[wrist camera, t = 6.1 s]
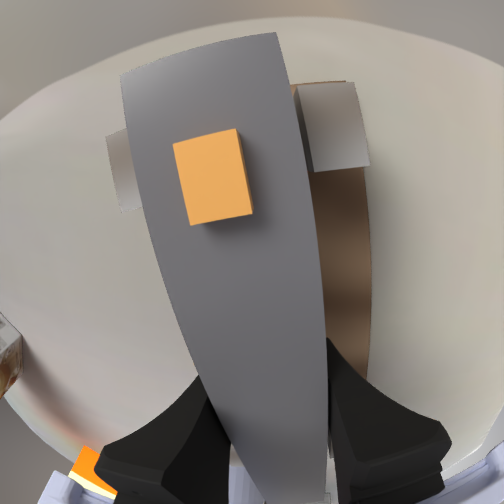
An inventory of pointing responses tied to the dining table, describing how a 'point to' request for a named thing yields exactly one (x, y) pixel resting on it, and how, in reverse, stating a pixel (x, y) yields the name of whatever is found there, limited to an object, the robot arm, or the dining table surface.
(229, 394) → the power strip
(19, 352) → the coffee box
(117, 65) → the dining table surface
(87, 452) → the orange juice
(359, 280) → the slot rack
